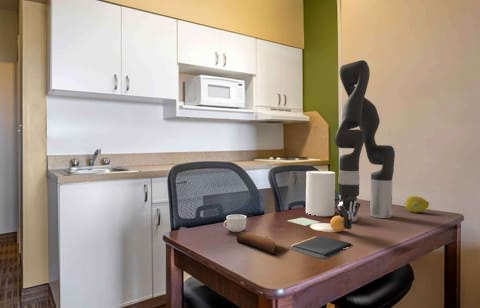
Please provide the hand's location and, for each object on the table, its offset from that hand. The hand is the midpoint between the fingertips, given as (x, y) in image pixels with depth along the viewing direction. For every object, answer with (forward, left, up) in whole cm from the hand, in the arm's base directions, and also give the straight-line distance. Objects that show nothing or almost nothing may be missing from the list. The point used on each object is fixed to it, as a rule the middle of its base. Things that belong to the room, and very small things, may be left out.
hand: (347, 228), depth 123 cm
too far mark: (-1, -22, -2) cm, 22 cm away
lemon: (-62, -2, -2) cm, 62 cm away
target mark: (-1, -10, -2) cm, 10 cm away
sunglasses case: (+36, -8, -3) cm, 37 cm away
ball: (0, -4, +1) cm, 4 cm away
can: (-19, -12, -2) cm, 22 cm away
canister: (-21, -29, -2) cm, 36 cm away
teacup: (+32, -28, -2) cm, 43 cm away
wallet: (+21, +4, -3) cm, 21 cm away
